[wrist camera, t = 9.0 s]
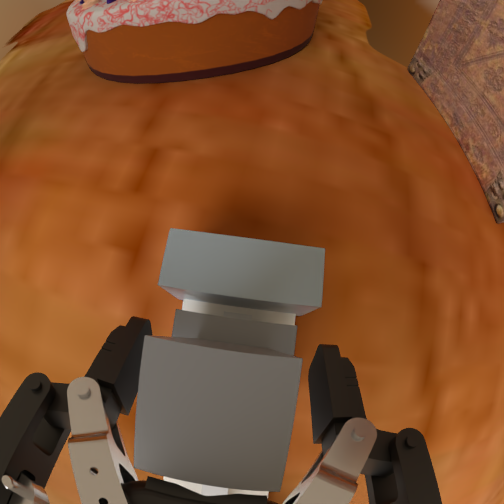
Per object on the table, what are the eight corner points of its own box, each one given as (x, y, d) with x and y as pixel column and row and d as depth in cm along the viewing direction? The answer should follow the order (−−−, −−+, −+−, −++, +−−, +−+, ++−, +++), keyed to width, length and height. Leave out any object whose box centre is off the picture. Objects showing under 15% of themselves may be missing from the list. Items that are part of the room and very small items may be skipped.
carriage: (274, 422, 14) (319, 522, 4) (175, 408, 14) (92, 485, 4) (287, 328, 16) (359, 307, 6) (187, 314, 16) (108, 272, 6)
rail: (257, 554, 11) (261, 590, 6) (159, 539, 11) (144, 572, 6) (304, 265, 19) (325, 239, 14) (188, 249, 19) (172, 219, 14)
